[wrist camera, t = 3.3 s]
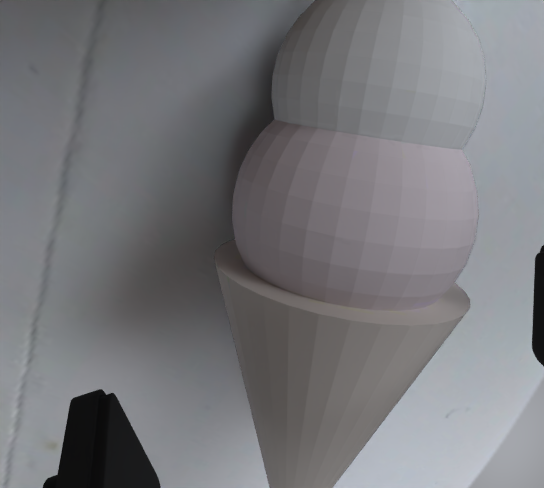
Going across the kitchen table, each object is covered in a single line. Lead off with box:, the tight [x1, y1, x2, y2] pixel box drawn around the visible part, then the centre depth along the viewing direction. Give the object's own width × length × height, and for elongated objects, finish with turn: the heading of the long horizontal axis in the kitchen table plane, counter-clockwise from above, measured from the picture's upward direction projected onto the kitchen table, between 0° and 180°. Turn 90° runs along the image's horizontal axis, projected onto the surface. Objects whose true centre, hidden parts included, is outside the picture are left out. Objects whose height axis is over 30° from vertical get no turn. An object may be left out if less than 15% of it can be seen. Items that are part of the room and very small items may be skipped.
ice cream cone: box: [214, 0, 486, 488], centre depth 13 cm, size 6×6×15 cm
